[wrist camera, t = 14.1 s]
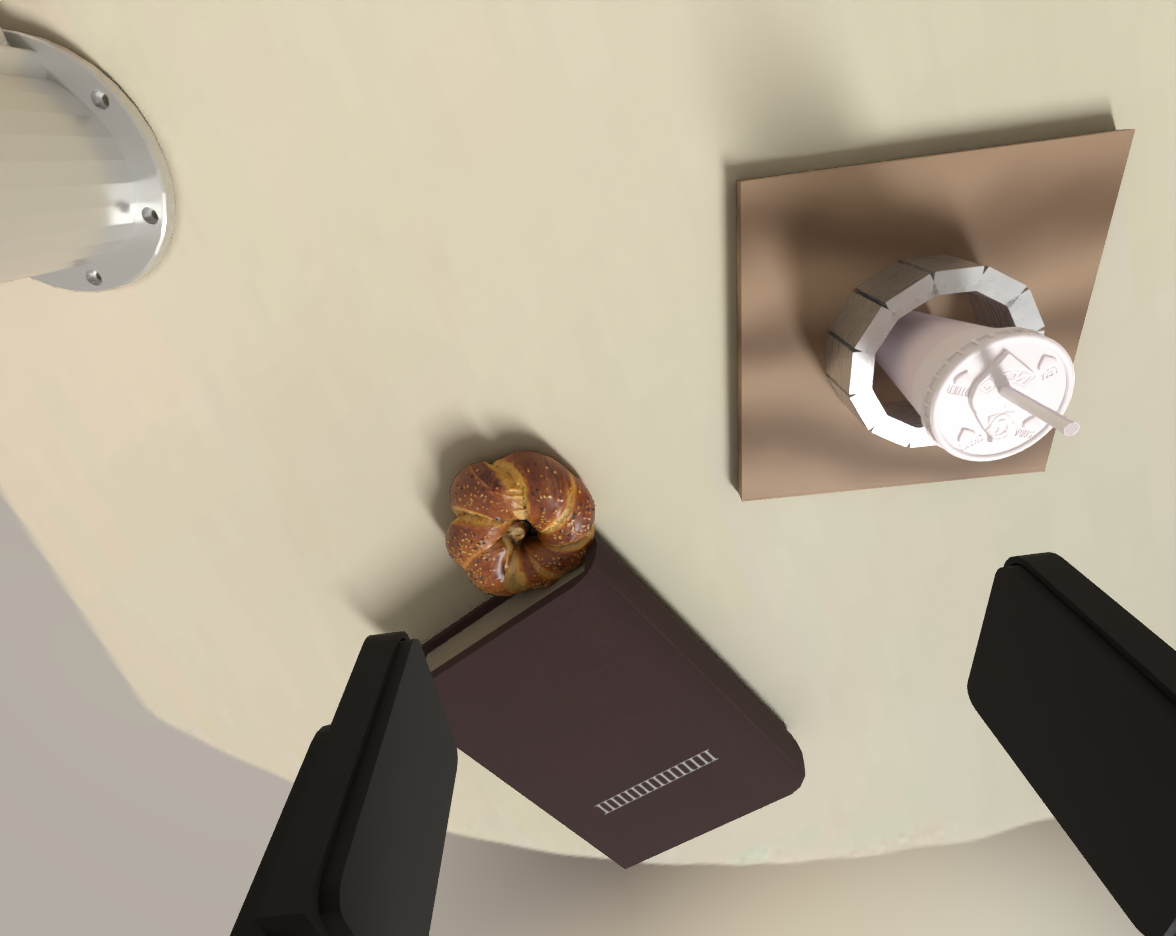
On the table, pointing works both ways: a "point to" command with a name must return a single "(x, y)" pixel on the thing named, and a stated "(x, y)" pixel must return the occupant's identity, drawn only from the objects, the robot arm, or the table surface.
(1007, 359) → the smoothie
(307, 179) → the table surface
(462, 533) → the pretzel
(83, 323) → the table surface
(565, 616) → the book
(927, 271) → the steel sleeve
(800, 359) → the walnut board
